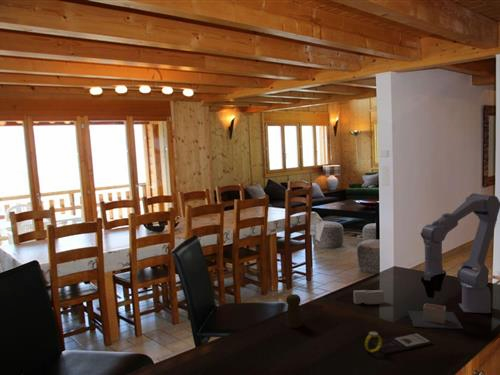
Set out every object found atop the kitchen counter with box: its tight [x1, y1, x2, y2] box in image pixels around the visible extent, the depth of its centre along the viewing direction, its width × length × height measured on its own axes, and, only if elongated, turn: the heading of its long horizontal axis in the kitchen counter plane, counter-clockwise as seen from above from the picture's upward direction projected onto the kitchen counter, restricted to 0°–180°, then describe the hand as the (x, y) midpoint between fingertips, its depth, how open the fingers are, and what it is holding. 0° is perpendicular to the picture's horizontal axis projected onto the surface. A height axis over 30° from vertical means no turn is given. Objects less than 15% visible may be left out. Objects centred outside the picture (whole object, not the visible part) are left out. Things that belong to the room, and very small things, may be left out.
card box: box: [422, 303, 447, 324], centre depth 156 cm, size 4×7×5 cm, turn 58°
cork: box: [285, 293, 304, 329], centre depth 160 cm, size 6×6×11 cm
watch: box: [364, 331, 383, 354], centre depth 137 cm, size 6×3×6 cm, turn 114°
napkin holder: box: [352, 289, 385, 305], centre depth 178 cm, size 15×11×6 cm
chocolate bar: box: [368, 331, 434, 356], centre depth 141 cm, size 9×1×18 cm
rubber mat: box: [407, 310, 464, 330], centre depth 157 cm, size 16×14×1 cm
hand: (433, 294), depth 159 cm, fingers open, 7 cm apart
